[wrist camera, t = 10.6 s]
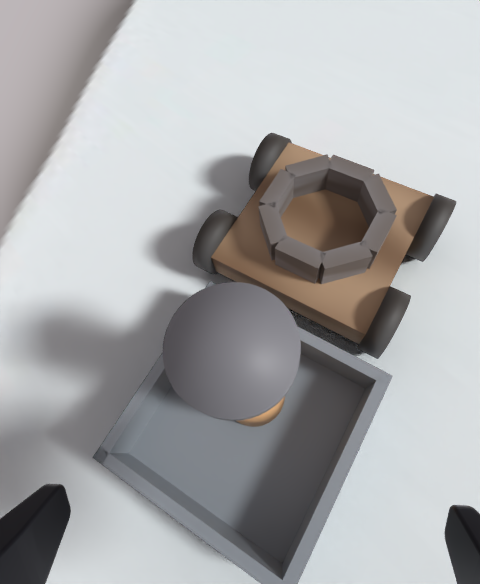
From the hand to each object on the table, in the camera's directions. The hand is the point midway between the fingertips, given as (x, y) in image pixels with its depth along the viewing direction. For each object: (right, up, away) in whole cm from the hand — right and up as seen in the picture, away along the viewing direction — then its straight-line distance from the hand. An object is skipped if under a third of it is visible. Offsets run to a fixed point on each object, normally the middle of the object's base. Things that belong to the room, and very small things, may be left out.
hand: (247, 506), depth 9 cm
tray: (0, -3, +14) cm, 14 cm away
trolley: (+5, +8, +17) cm, 20 cm away
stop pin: (+1, -1, +13) cm, 13 cm away
